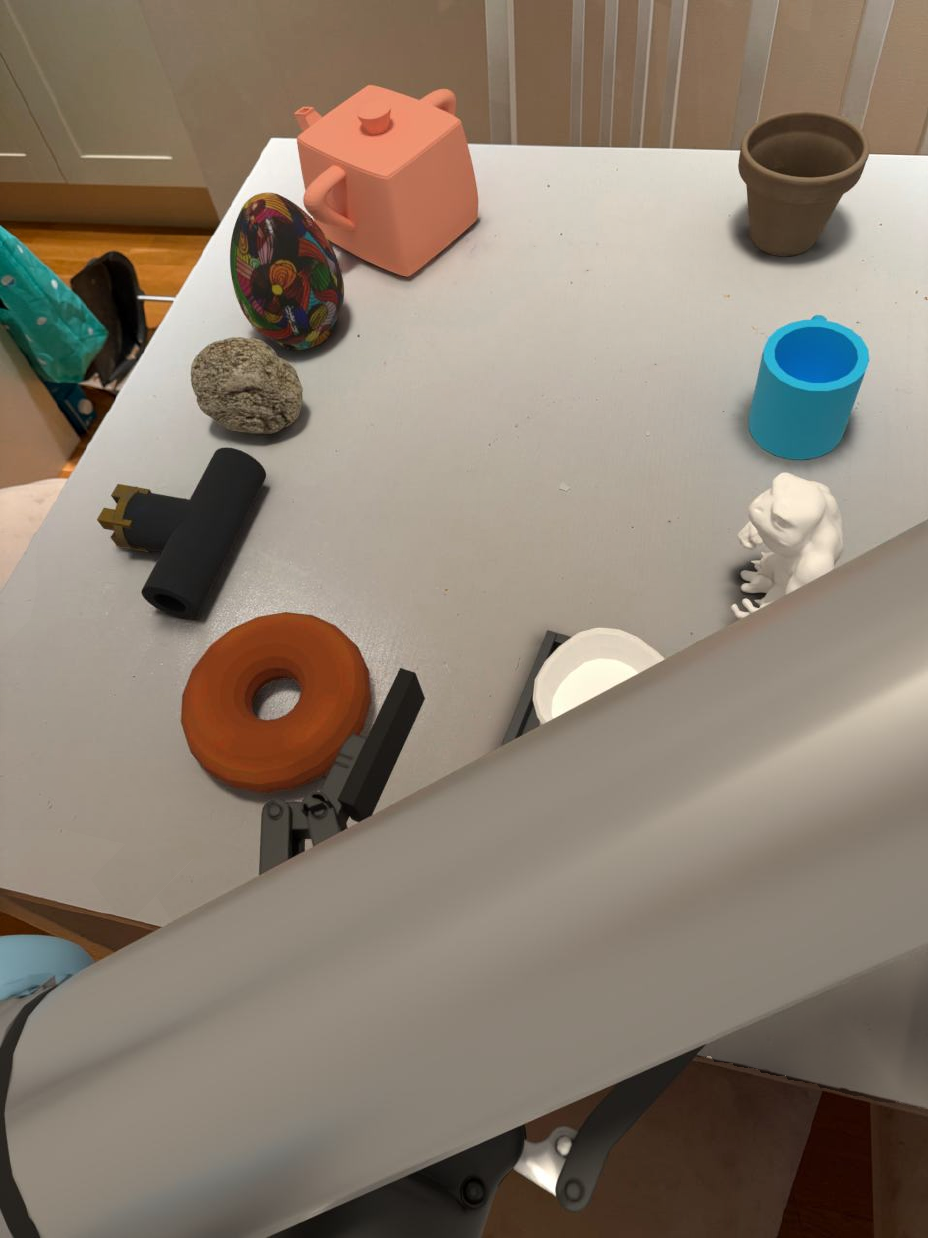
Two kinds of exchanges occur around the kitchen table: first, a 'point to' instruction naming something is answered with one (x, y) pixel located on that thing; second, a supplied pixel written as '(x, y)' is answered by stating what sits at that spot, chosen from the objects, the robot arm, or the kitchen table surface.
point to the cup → (588, 669)
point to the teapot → (388, 176)
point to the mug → (807, 388)
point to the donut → (294, 741)
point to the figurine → (790, 538)
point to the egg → (285, 272)
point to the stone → (246, 386)
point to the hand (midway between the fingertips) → (553, 726)
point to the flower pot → (798, 176)
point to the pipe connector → (187, 529)
